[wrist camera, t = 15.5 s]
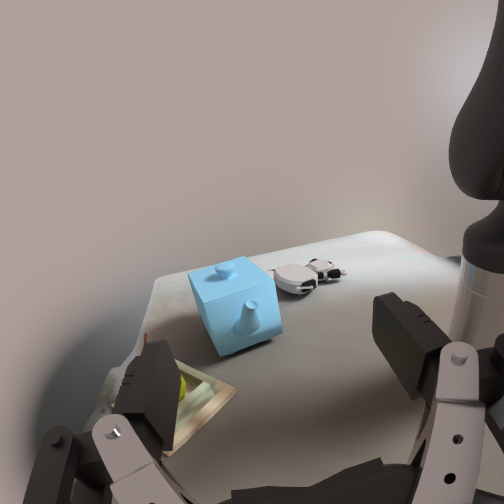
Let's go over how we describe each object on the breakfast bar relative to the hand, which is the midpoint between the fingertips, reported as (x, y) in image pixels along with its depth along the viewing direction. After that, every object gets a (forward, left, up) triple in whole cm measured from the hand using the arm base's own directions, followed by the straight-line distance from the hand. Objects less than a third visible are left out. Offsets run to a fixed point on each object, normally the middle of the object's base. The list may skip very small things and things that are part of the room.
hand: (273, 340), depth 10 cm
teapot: (-23, -25, -25) cm, 42 cm away
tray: (-5, -25, -24) cm, 35 cm away
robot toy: (-45, -23, -25) cm, 56 cm away
